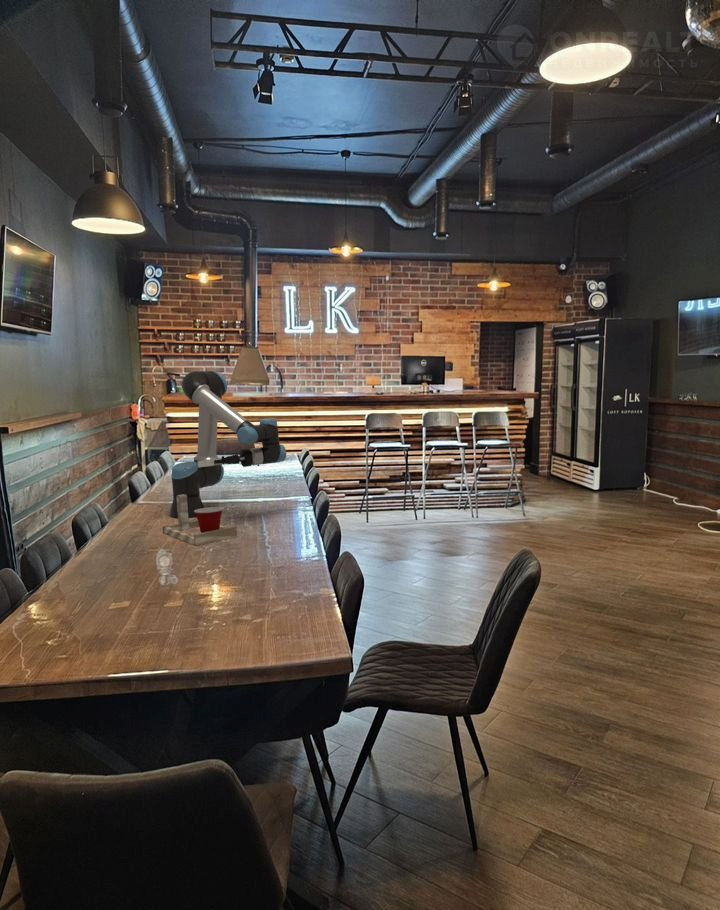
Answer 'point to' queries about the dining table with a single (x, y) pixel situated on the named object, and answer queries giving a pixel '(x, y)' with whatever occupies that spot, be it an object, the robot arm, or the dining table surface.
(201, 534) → the open rectangular frame
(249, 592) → the dining table surface
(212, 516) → the plastic cup
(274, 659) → the dining table surface
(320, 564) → the dining table surface
